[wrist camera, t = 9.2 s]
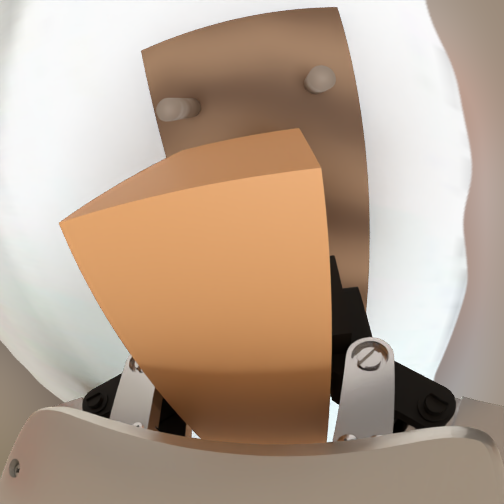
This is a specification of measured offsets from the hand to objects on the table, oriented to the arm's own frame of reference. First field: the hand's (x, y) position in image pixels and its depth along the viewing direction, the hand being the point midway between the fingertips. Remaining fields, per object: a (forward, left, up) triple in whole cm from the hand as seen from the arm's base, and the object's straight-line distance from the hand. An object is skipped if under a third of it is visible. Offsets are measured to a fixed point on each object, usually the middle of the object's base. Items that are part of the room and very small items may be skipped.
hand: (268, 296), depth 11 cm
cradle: (0, 0, -9) cm, 9 cm away
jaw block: (0, 0, 0) cm, 0 cm away
